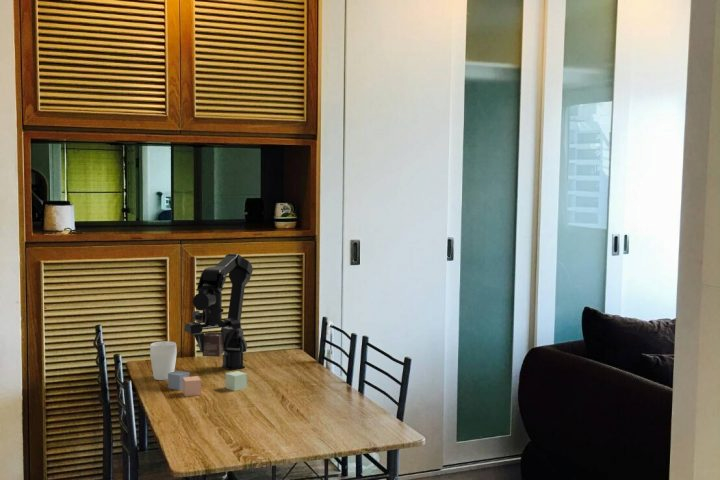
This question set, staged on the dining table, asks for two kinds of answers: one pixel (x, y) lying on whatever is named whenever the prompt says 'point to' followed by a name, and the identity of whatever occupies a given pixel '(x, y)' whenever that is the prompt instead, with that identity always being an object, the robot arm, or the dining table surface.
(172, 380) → the cube slate
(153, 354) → the cup
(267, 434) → the dining table surface
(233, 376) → the cube sage
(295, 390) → the dining table surface
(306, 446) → the dining table surface
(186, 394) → the cube terracotta
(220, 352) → the box
